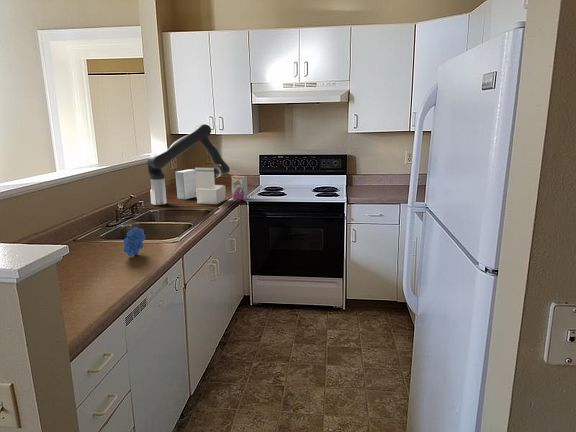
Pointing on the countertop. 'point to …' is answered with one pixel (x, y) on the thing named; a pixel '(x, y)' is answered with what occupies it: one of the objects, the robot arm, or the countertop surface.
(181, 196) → the hard drive box
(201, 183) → the flap
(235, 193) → the candy bar box
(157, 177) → the robot arm
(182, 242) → the countertop surface
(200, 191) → the carton
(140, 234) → the grapes
